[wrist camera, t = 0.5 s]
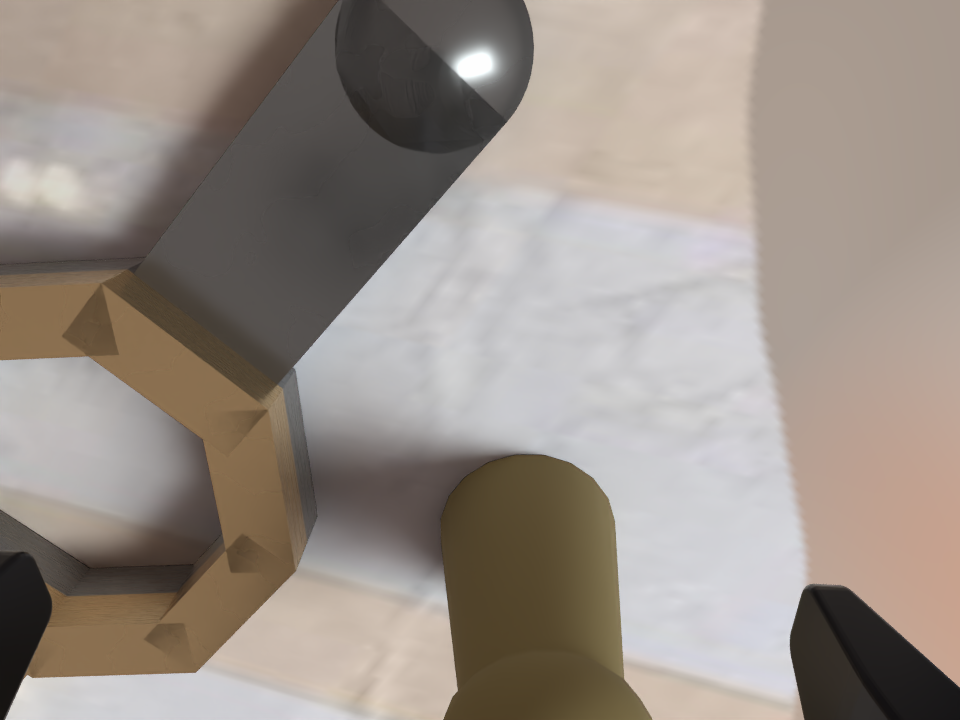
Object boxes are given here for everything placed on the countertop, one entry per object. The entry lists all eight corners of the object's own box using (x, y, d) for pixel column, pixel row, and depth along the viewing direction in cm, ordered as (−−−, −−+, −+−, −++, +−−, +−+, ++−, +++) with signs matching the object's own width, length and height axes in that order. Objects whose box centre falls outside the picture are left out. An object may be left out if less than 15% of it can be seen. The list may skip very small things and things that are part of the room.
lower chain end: (168, 670, 27) (151, 702, 26) (-158, 464, 24) (-197, 488, 23) (670, 150, 20) (683, 155, 19) (301, -228, 17) (285, -254, 16)
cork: (487, 625, 27) (487, 969, 16) (408, 497, 25) (351, 793, 14) (641, 565, 26) (745, 890, 15) (571, 425, 24) (636, 690, 13)
